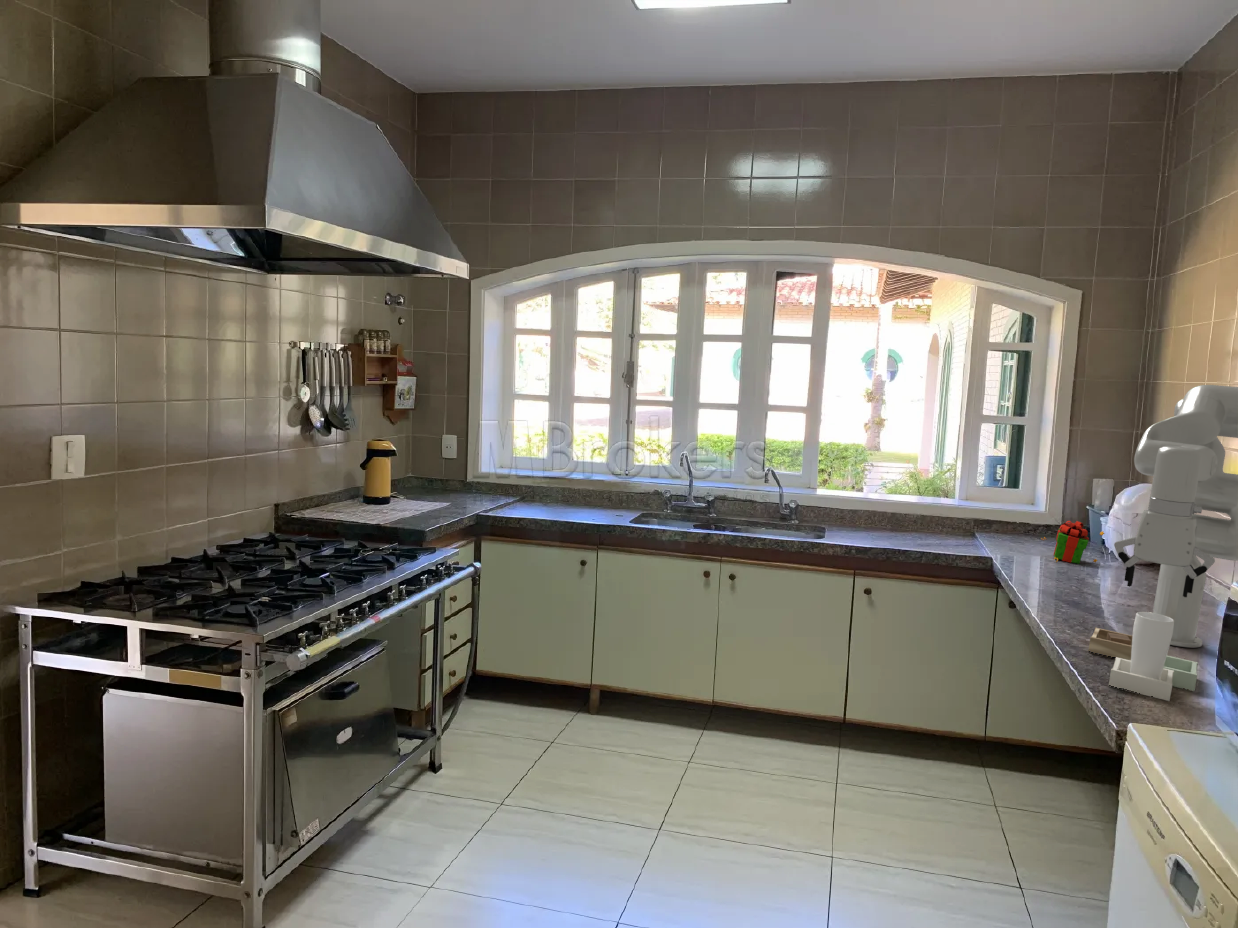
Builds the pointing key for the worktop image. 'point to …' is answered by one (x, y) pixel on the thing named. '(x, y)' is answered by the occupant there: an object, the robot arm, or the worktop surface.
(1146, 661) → the white cup
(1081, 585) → the worktop surface
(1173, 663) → the sage frame
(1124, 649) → the beech frame
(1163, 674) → the cream frame
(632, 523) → the worktop surface
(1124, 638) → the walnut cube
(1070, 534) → the gift wrap
